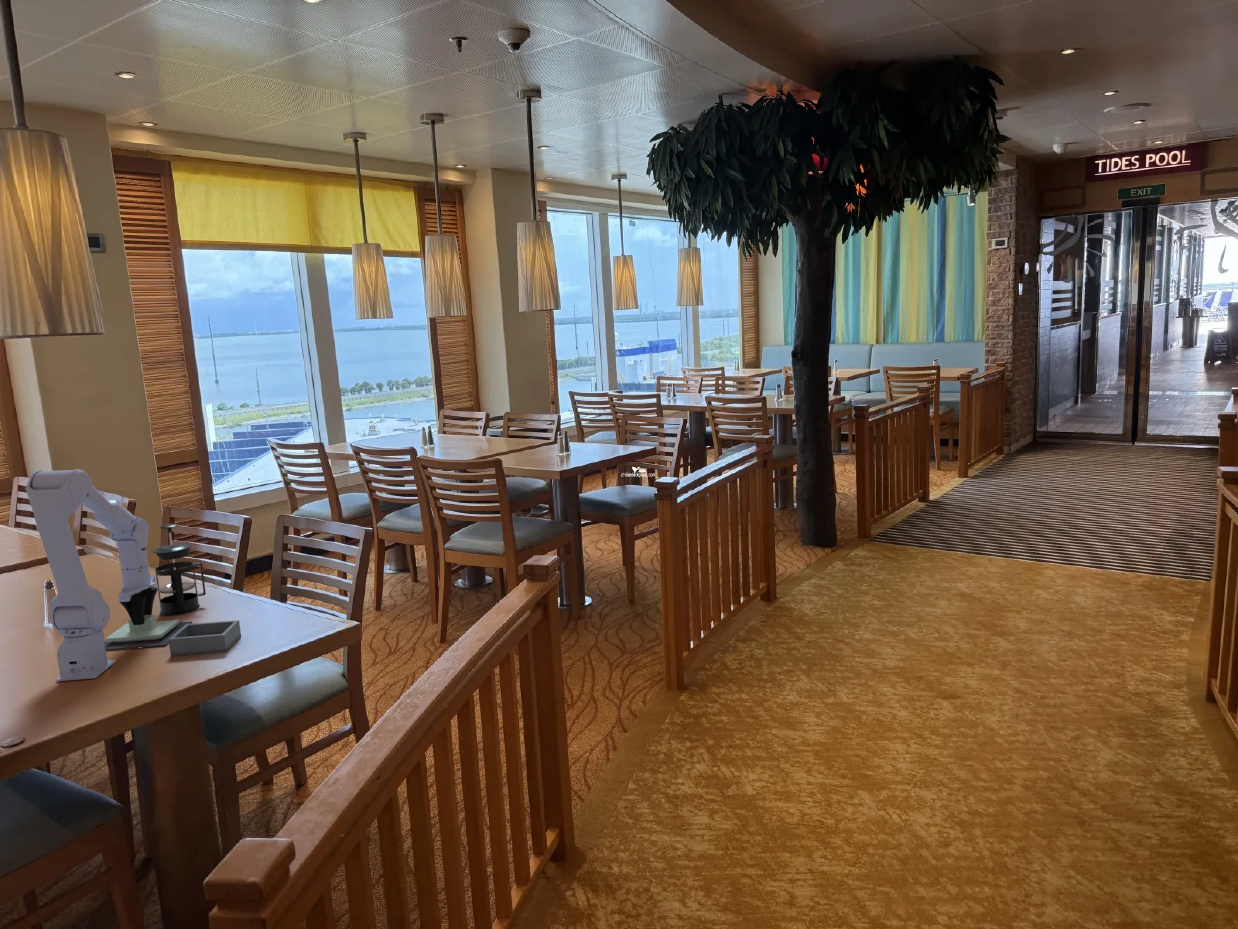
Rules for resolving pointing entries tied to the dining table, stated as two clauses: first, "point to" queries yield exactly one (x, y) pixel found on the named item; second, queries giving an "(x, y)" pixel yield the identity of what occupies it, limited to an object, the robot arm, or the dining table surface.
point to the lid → (142, 630)
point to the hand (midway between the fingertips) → (142, 621)
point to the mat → (145, 643)
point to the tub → (205, 638)
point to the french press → (177, 579)
